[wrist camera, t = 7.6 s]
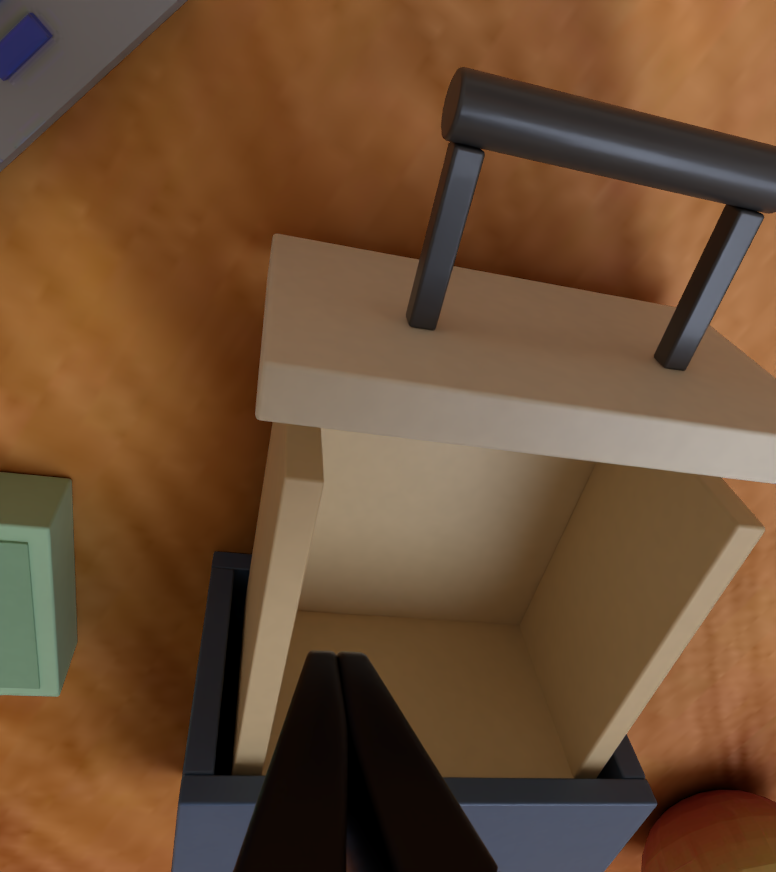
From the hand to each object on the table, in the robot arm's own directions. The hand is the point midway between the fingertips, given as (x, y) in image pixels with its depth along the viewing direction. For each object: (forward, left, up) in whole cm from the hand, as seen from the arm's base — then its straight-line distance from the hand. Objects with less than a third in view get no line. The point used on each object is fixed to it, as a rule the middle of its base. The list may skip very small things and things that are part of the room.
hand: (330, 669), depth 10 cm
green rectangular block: (-9, -11, -12) cm, 19 cm away
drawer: (+5, -2, -11) cm, 12 cm away
